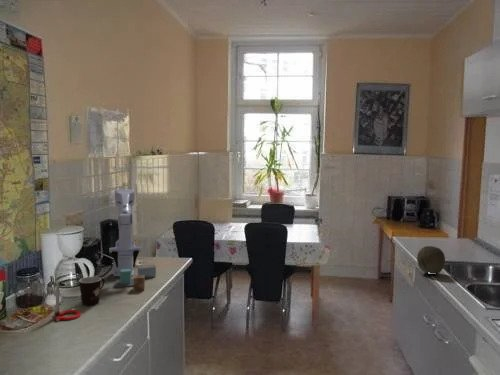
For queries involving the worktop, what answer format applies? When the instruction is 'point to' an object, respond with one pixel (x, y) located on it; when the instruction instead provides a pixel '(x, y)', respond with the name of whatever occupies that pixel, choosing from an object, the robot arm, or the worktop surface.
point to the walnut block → (139, 282)
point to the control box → (147, 270)
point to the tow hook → (58, 314)
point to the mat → (117, 284)
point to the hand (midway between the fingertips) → (125, 266)
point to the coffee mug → (90, 290)
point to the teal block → (125, 276)
